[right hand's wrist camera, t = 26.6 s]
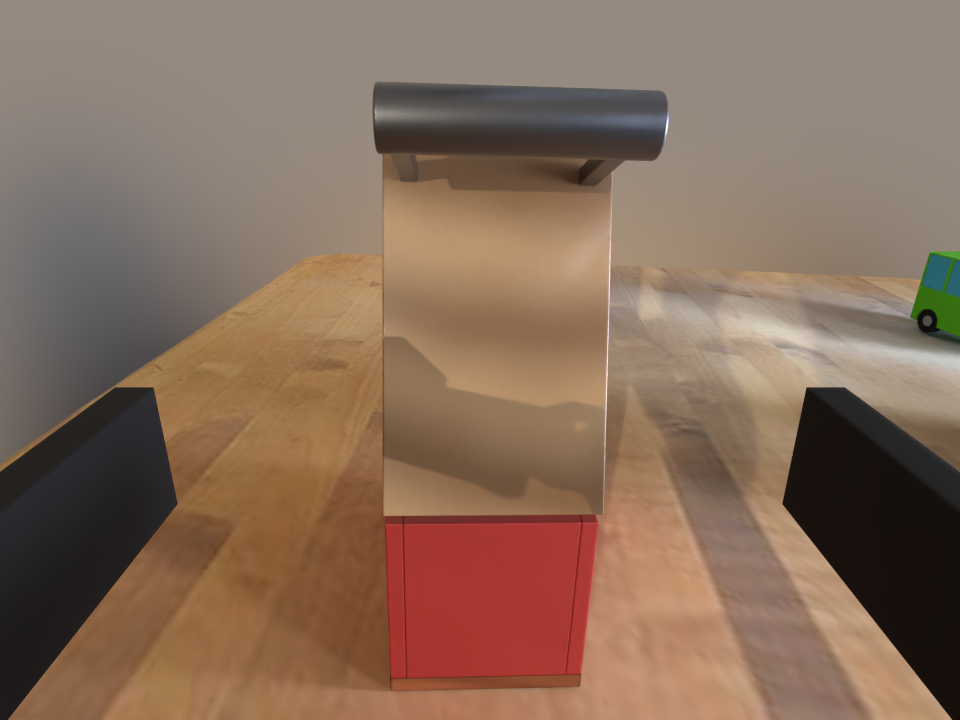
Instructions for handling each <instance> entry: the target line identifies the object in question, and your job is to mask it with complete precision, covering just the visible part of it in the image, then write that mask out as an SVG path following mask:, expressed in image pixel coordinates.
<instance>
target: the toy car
mask: <svg viewBox="0 0 960 720" xmlns="http://www.w3.org/2000/svg"><path fill="white" fill-rule="evenodd" d="M910 318H913V319H915V320H918V322H917V324H918V326H919V328H920V329H921V330H922V331H923V332H937V331H939V330H944V331H946V332H949V333H951V334H954V335H956V336H959V337H960V251H951V252H930V254H929V257H928V260H927V263H926V267H925V270H924V273H923V277H922V280H921V283H920V287H919V290H918V293H917V297H916V300H915V303H914V306H913V310H912V313H911V316H910Z"/></svg>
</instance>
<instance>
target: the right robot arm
mask: <svg viewBox="0 0 960 720" xmlns="http://www.w3.org/2000/svg"><path fill="white" fill-rule="evenodd" d="M176 505H177V499H176V494H175V489H174V484H173V480H172V475H171V470H170V465H169V460H168V456H167V451H166V446H165V441H164V436H163V431H162V427H161V422H160V417H159V412H158V407H157V403H156V398H155V393H154V388H114V389H113V390H111V391H110V392H108V393H107V394H106V395H104V396H103V397H102V398H100V399H99V400H98V401H96V402H95V403H93V404H92V405H91V406H89V407H88V408H87V409H85V410H84V411H83V412H81V413H80V414H78V415H77V416H76V417H74V418H73V419H72V420H70V421H69V422H68V423H66V424H65V425H63V426H62V427H61V428H59V429H58V430H57V431H55V432H54V433H53V434H51V435H50V436H48V437H47V438H46V439H44V440H43V441H42V442H40V443H39V444H38V445H36V446H35V447H33V448H32V449H31V450H29V451H28V452H27V453H25V454H24V455H23V456H21V457H20V458H18V459H17V460H16V461H14V462H13V463H12V464H10V465H9V466H8V467H6V468H5V469H4V470H2V471H1V472H0V720H8V719H9V717H10V716H11V715H12V714H13V712H14V711H15V710H16V708H17V707H18V706H19V705H20V703H21V702H22V701H23V700H24V698H25V697H26V696H27V695H28V693H29V692H30V691H31V689H32V688H33V687H34V686H35V684H36V683H37V682H38V681H39V679H40V678H41V677H42V675H43V674H44V673H45V672H46V670H47V669H48V668H49V667H50V665H51V664H52V663H53V661H54V660H55V659H56V658H57V656H58V655H59V654H60V653H61V651H62V650H63V649H64V648H65V646H66V645H67V644H68V642H69V641H70V640H71V639H72V637H73V636H74V635H75V634H76V632H77V631H78V630H79V628H80V627H81V626H82V625H83V623H84V622H85V621H86V620H87V618H88V617H89V616H90V615H91V613H92V612H93V611H94V609H95V608H96V607H97V606H98V604H99V603H100V602H101V601H102V599H103V598H104V597H105V595H106V594H107V593H108V592H109V590H110V589H111V588H112V587H113V585H114V584H115V583H116V581H117V580H118V579H119V578H120V576H121V575H122V574H123V573H124V571H125V570H126V569H127V568H128V566H129V565H130V564H131V562H132V561H133V560H134V559H135V557H136V556H137V555H138V554H139V552H140V551H141V550H142V548H143V547H144V546H145V545H146V543H147V542H148V541H149V540H150V538H151V537H152V536H153V535H154V533H155V532H156V531H157V529H158V528H159V527H160V526H161V524H162V523H163V522H164V521H165V519H166V518H167V517H168V515H169V514H170V513H171V512H172V510H173V509H174V508H175V507H176ZM783 505H784V507H785V508H786V509H787V510H788V512H789V513H790V514H791V515H792V517H793V518H794V519H795V521H796V522H797V523H798V524H799V526H800V527H801V528H802V529H803V531H804V532H805V533H806V535H807V536H808V537H809V538H810V540H811V541H812V542H813V543H814V545H815V546H816V547H817V548H818V550H819V551H820V552H821V554H822V555H823V556H824V557H825V559H826V560H827V561H828V562H829V564H830V565H831V566H832V568H833V569H834V570H835V571H836V573H837V574H838V575H839V576H840V578H841V579H842V580H843V581H844V583H845V584H846V585H847V587H848V588H849V589H850V590H851V592H852V593H853V594H854V595H855V597H856V598H857V599H858V601H859V602H860V603H861V604H862V606H863V607H864V608H865V609H866V611H867V612H868V613H869V615H870V616H871V617H872V618H873V620H874V621H875V622H876V623H877V625H878V626H879V627H880V628H881V630H882V631H883V632H884V634H885V635H886V636H887V637H888V639H889V640H890V641H891V642H892V644H893V645H894V646H895V648H896V649H897V650H898V651H899V653H900V654H901V655H902V656H903V658H904V659H905V660H906V661H907V663H908V664H909V665H910V667H911V668H912V669H913V670H914V672H915V673H916V674H917V675H918V677H919V678H920V679H921V681H922V682H923V683H924V684H925V686H926V687H927V688H928V689H929V691H930V692H931V693H932V695H933V696H934V697H935V698H936V700H937V701H938V702H939V703H940V705H941V706H942V707H943V708H944V710H945V711H946V712H947V714H948V715H949V716H950V717H951V719H952V720H960V472H959V471H958V470H956V469H955V468H954V467H952V466H951V465H950V464H948V463H947V462H946V461H944V460H943V459H942V458H940V457H939V456H937V455H936V454H935V453H933V452H932V451H931V450H929V449H928V448H927V447H925V446H924V445H922V444H921V443H920V442H918V441H917V440H916V439H914V438H913V437H912V436H910V435H909V434H907V433H906V432H905V431H903V430H902V429H901V428H899V427H898V426H897V425H895V424H894V423H892V422H891V421H890V420H888V419H887V418H886V417H884V416H883V415H882V414H880V413H879V412H877V411H876V410H875V409H873V408H872V407H871V406H869V405H868V404H867V403H865V402H864V401H862V400H861V399H860V398H858V397H857V396H856V395H854V394H853V393H852V392H850V391H849V390H847V389H846V388H806V393H805V398H804V403H803V407H802V412H801V417H800V422H799V427H798V431H797V436H796V441H795V446H794V451H793V456H792V460H791V465H790V470H789V475H788V480H787V484H786V489H785V494H784V499H783Z"/></svg>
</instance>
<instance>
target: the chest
mask: <svg viewBox="0 0 960 720" xmlns="http://www.w3.org/2000/svg"><path fill="white" fill-rule="evenodd" d="M598 524H599V523H598V520H597V517H596V515H465V516H386V520H385V543H386V570H387V597H388V625H389V652H390V690H391V691H393V690H438V689H482V688H526V687H571V686H580V682H581V667H582V659H583V651H584V642H585V634H586V625H587V617H588V608H589V600H590V592H591V583H592V575H593V566H594V558H595V550H596V541H597V533H598Z"/></svg>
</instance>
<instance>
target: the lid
mask: <svg viewBox="0 0 960 720" xmlns="http://www.w3.org/2000/svg"><path fill="white" fill-rule="evenodd" d="M668 119H669V109H668V101H667V97H666V95H665V93H664V92H662V91H654V90H622V89H590V88H559V87H527V86H495V85H463V84H431V83H399V82H377V83H375V86H374V90H373V130H374V140H375V147H376V150H377V152H378V153H379V154H383V516H465V515H602V514H604V485H605V446H606V408H607V370H608V332H609V294H610V256H611V217H612V178H613V171H614V170H615V169H616V168H617V167H618V166H619V165H621V164H622V163H623V162H624V161H625V160H634V161H653V160H655V159H657V158H658V156H659V155H660V153H661V151H662V149H663V146H664V143H665V139H666V135H667V129H668Z"/></svg>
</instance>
